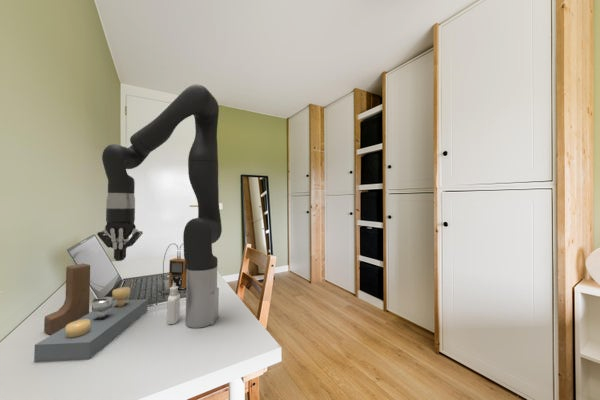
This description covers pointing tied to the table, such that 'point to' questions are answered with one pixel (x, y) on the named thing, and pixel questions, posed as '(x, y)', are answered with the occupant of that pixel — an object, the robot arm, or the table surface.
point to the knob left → (77, 328)
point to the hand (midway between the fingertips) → (119, 260)
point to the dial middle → (102, 306)
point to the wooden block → (71, 299)
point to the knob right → (121, 295)
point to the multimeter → (177, 271)
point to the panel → (90, 334)
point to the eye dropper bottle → (173, 305)
